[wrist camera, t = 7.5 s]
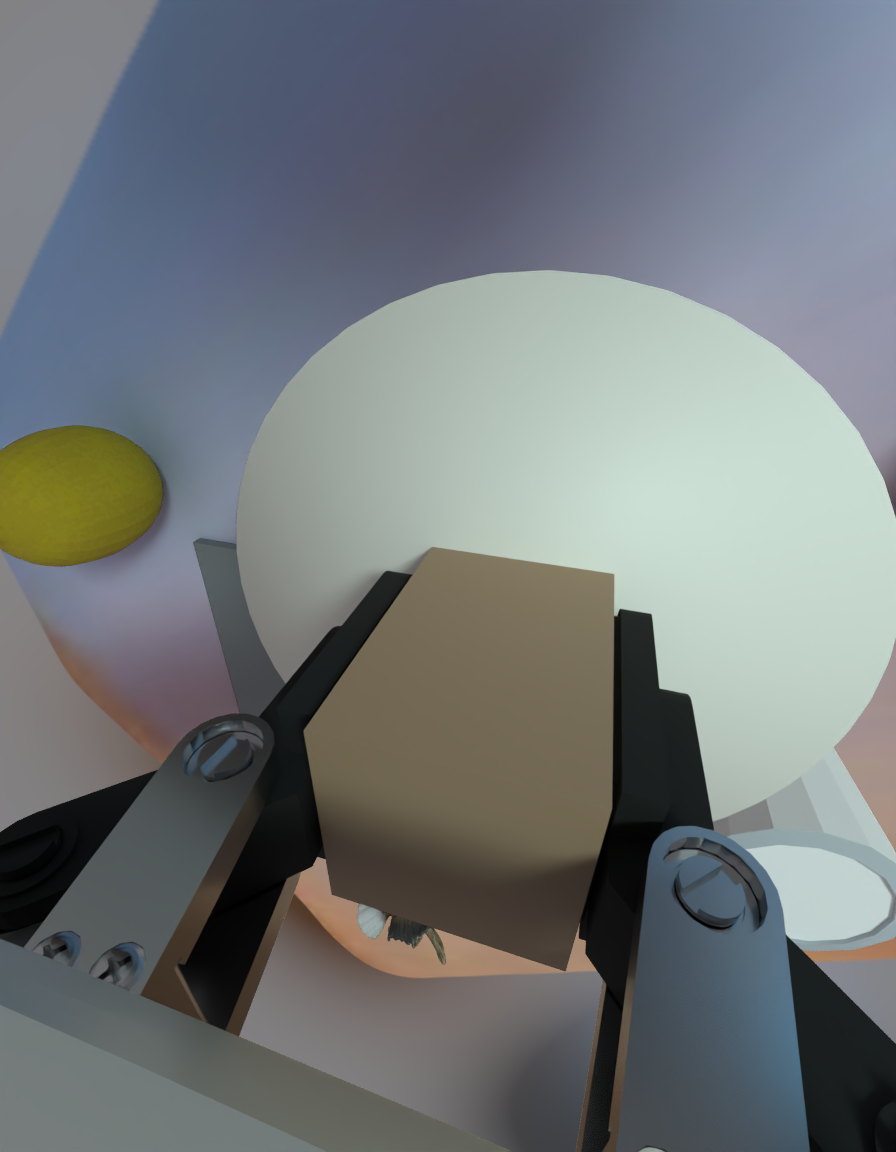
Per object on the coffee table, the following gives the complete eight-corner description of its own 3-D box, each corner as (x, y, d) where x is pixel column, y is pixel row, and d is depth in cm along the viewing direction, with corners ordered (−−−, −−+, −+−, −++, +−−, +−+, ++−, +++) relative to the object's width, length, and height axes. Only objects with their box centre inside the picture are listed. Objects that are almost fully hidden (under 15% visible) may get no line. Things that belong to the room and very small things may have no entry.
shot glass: (817, 806, 24) (880, 975, 18) (661, 778, 26) (672, 923, 20) (866, 696, 21) (963, 862, 15) (682, 673, 22) (703, 813, 17)
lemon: (163, 396, 23) (-22, 447, 16) (217, 510, 25) (75, 594, 19) (81, 420, 25) (-113, 473, 18) (138, 523, 27) (-15, 603, 21)
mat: (199, 538, 27) (193, 542, 26) (501, 588, 23) (499, 594, 22) (255, 747, 35) (250, 753, 34) (483, 809, 31) (481, 816, 31)
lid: (203, 264, 10) (-223, 247, 5) (1066, 279, 7) (2356, 274, 2) (294, 748, 16) (156, 948, 11) (746, 866, 13) (823, 1208, 8)
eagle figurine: (489, 917, 35) (491, 868, 29) (407, 1005, 32) (390, 970, 26) (420, 831, 40) (410, 773, 34) (342, 900, 36) (315, 850, 30)
